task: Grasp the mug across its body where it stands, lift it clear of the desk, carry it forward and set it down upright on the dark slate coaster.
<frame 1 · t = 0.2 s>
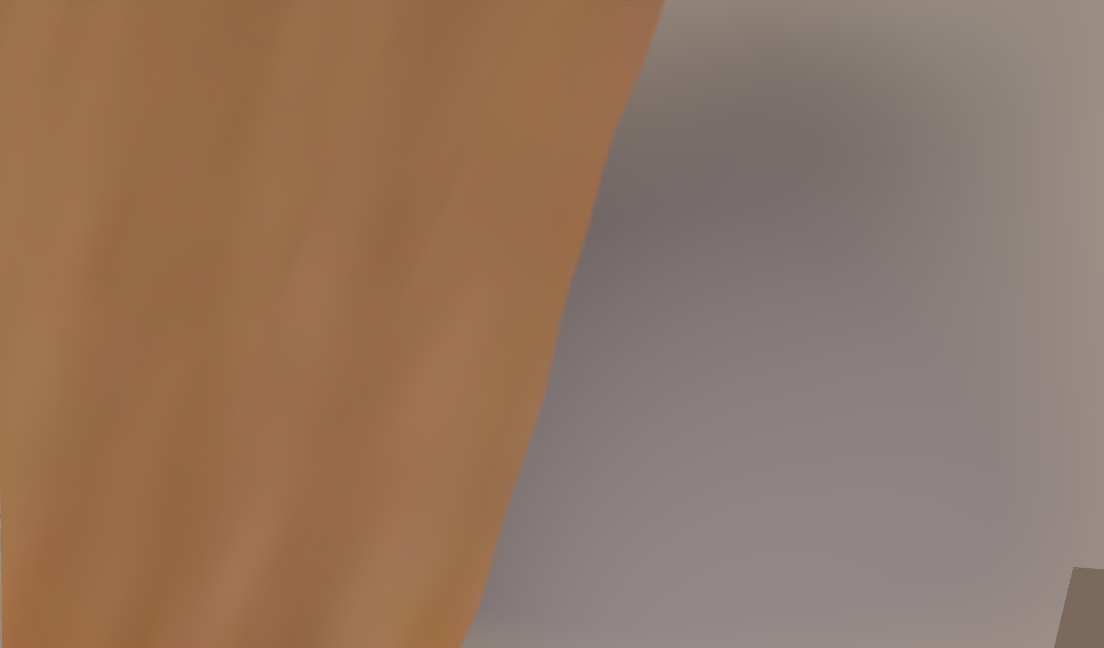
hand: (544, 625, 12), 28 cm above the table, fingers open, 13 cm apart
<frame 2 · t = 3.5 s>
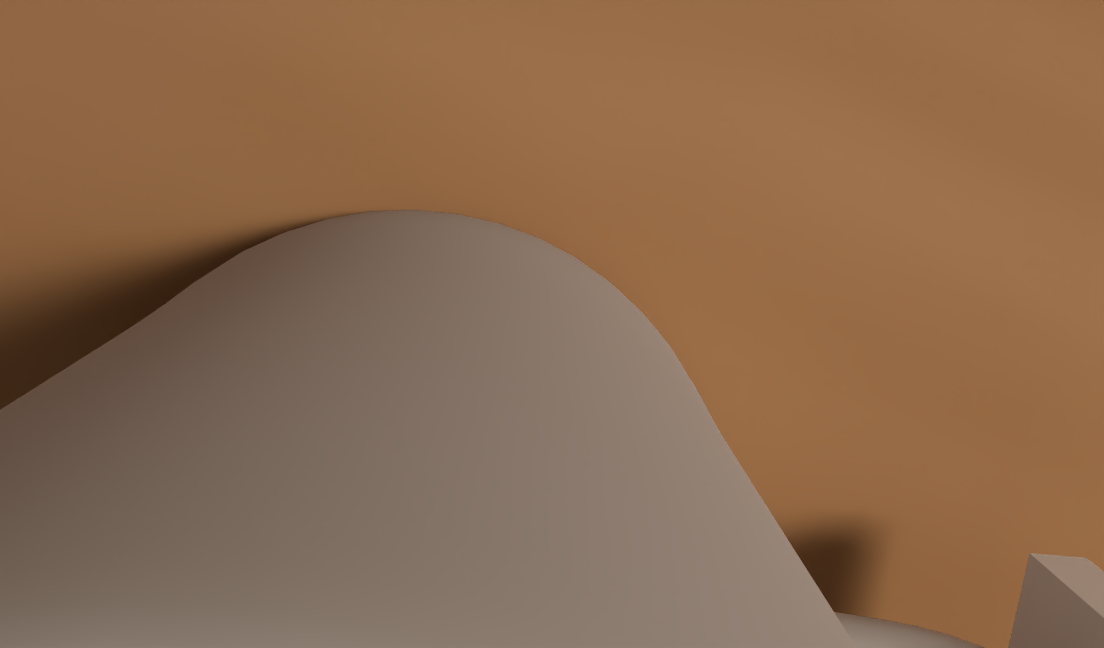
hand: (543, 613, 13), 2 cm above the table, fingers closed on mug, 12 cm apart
mug: (535, 512, 15), on the table, touching gripper
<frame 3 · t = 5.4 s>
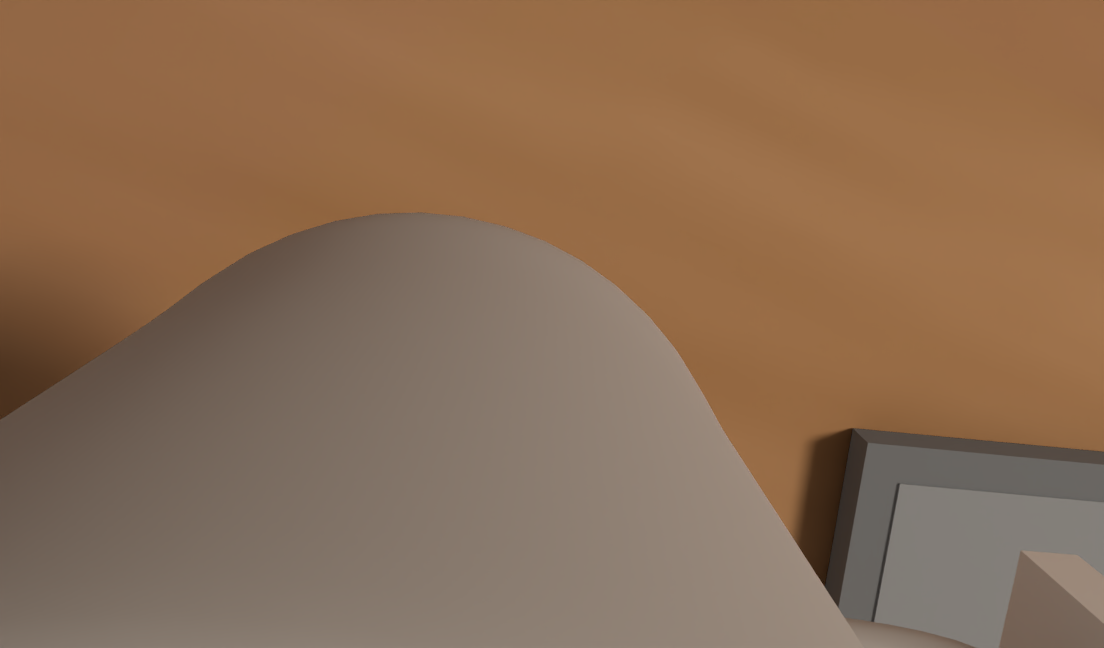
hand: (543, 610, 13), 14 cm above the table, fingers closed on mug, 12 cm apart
mug: (539, 516, 15), point 12 cm above the table, touching gripper
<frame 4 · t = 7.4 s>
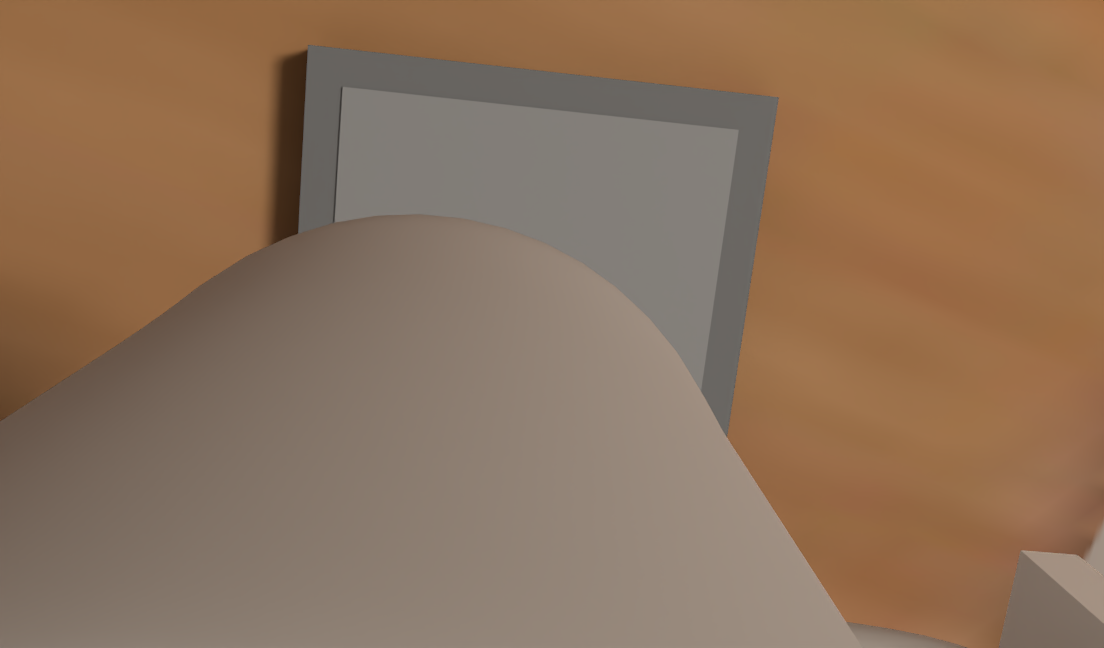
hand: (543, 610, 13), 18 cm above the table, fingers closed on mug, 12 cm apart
coaster: (520, 310, 30), on the table
mug: (539, 519, 15), point 16 cm above the table, touching gripper
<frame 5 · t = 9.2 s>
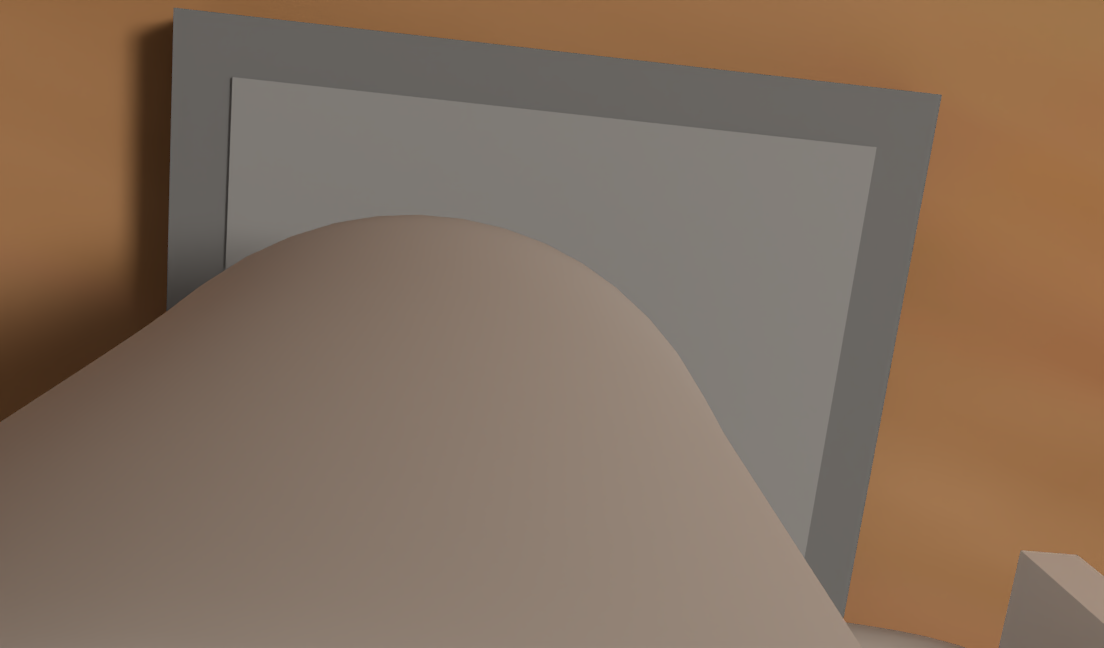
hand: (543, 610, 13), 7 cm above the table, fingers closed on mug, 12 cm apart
coaster: (524, 424, 20), on the table
mug: (539, 519, 15), point 5 cm above the table, touching gripper
when the fingers open (4 cm above the table, at t = 10.9 s): mug drops 1 cm, resting on coaster.
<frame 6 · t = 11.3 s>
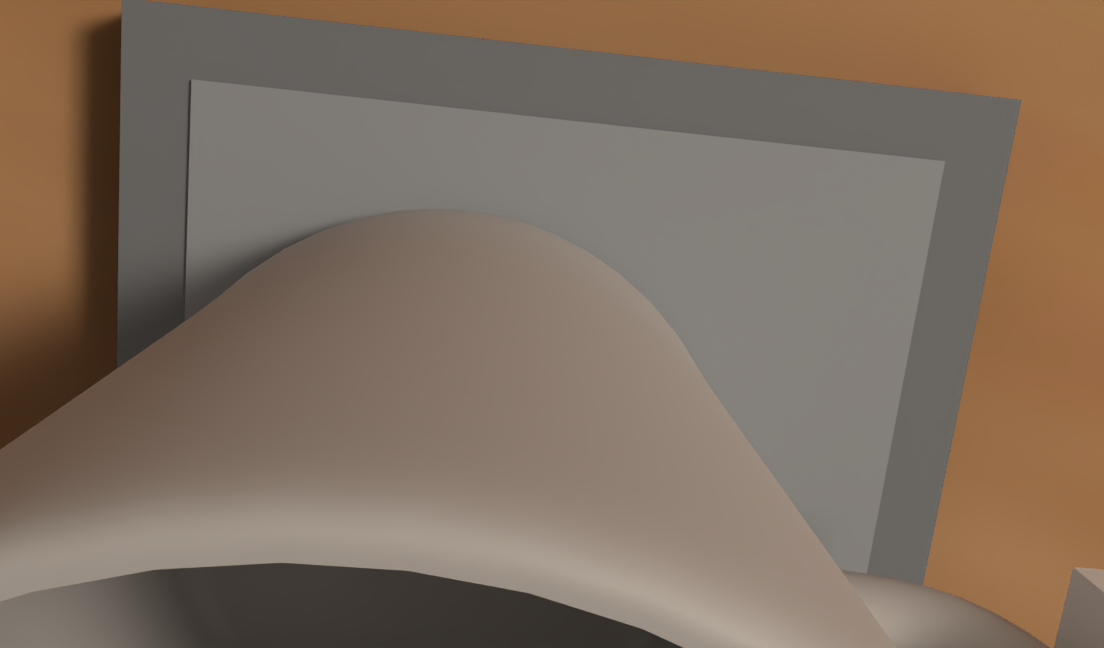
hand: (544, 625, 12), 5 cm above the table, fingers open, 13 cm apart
coaster: (533, 477, 17), on the table
mug: (551, 487, 16), point 1 cm above the table, touching coaster
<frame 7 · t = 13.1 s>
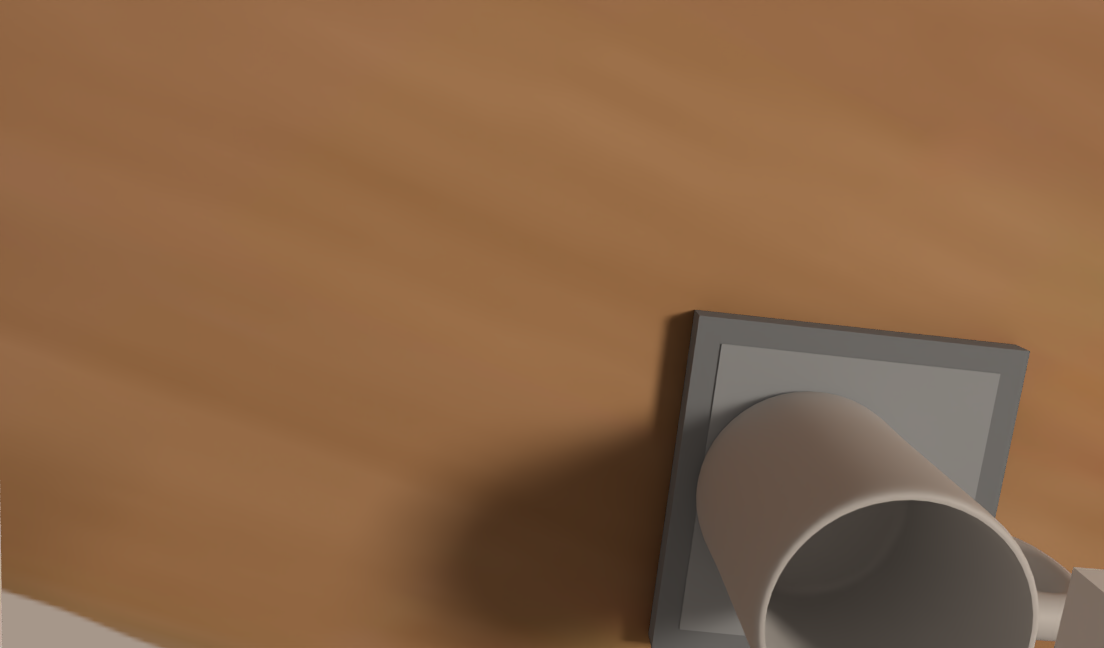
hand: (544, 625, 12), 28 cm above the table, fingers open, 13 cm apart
coaster: (827, 493, 41), on the table
mug: (842, 496, 40), point 1 cm above the table, touching coaster
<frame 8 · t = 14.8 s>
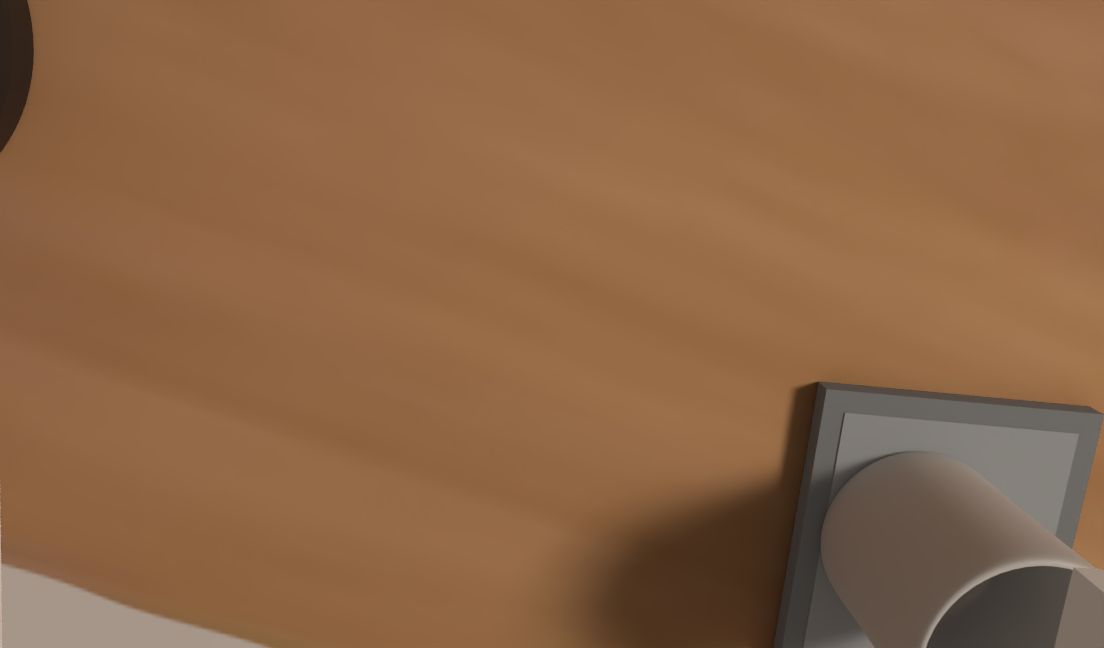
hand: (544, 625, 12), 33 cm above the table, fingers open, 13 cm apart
coaster: (926, 533, 48), on the table
mug: (942, 538, 47), point 1 cm above the table, touching coaster
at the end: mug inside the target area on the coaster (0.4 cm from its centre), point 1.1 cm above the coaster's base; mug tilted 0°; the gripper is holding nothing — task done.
